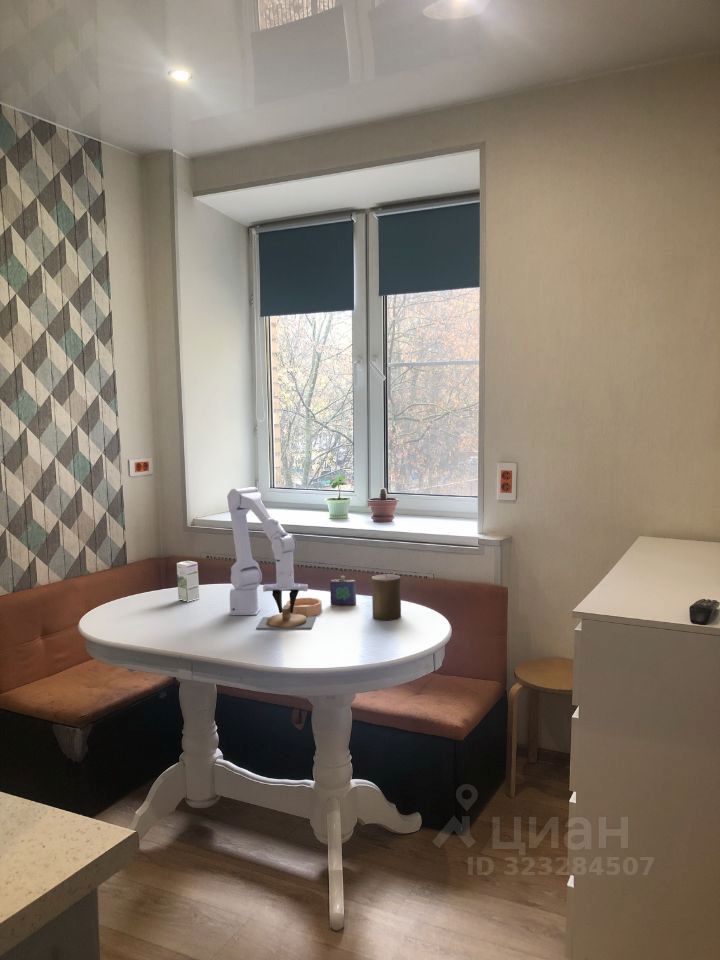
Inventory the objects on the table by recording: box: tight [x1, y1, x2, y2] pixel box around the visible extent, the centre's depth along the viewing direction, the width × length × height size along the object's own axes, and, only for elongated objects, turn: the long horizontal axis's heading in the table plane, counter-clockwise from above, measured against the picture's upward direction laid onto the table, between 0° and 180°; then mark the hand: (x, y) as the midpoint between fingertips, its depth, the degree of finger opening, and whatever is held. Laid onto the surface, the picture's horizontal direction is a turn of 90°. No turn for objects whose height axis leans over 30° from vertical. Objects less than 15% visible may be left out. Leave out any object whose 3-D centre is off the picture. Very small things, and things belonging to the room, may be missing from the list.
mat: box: [255, 616, 317, 630], centre depth 241 cm, size 18×12×1 cm, turn 87°
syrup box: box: [176, 560, 200, 601], centre depth 274 cm, size 6×6×14 cm
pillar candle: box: [371, 573, 402, 621], centre depth 246 cm, size 10×10×15 cm
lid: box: [267, 604, 306, 628], centre depth 241 cm, size 13×13×5 cm
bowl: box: [285, 597, 323, 617], centre depth 255 cm, size 12×12×4 cm
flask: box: [329, 575, 357, 607], centre depth 262 cm, size 9×3×11 cm, turn 87°
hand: (286, 612), depth 241 cm, fingers open, 3 cm apart
